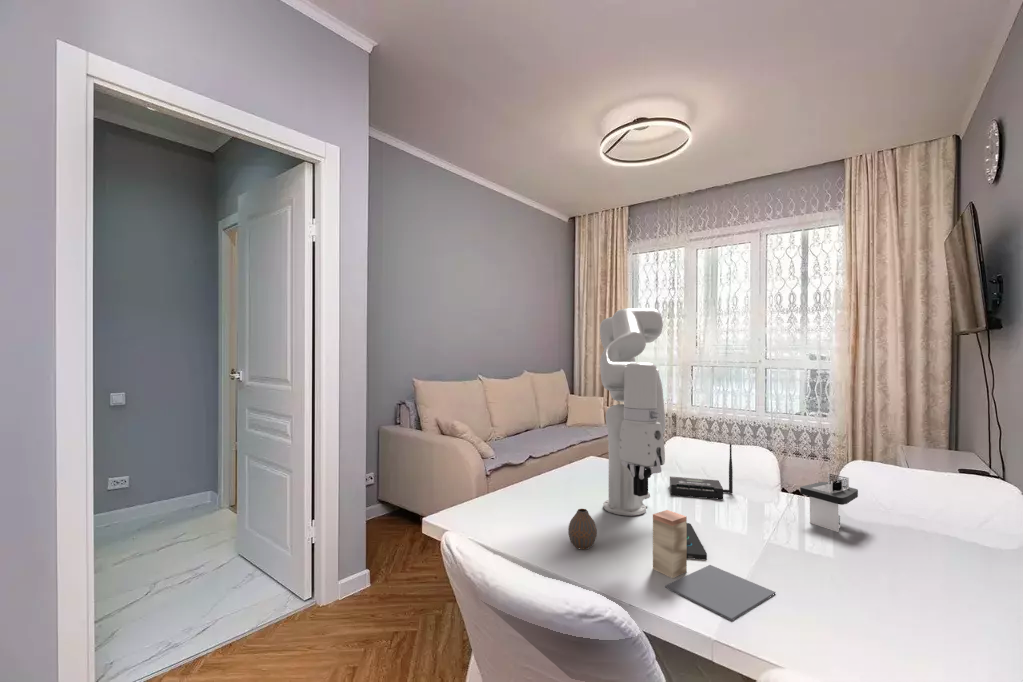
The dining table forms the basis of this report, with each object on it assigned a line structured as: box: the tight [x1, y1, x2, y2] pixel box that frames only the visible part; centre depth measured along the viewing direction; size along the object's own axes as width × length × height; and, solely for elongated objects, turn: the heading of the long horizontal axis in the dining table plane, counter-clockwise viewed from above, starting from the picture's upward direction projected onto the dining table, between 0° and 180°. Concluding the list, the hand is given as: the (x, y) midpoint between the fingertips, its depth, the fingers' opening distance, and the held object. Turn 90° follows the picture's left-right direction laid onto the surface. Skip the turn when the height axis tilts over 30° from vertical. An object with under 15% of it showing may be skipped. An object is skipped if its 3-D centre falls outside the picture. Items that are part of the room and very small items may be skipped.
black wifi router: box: [669, 443, 734, 500], centre depth 156 cm, size 20×14×17 cm
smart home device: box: [687, 522, 708, 560], centre depth 116 cm, size 8×2×20 cm
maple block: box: [652, 509, 688, 579], centre depth 101 cm, size 5×5×12 cm
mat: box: [664, 564, 776, 622], centre depth 92 cm, size 16×14×1 cm
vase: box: [567, 508, 598, 550], centre depth 113 cm, size 7×7×9 cm
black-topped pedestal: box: [799, 472, 859, 533], centre depth 128 cm, size 28×26×13 cm
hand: (640, 494), depth 107 cm, fingers closed
